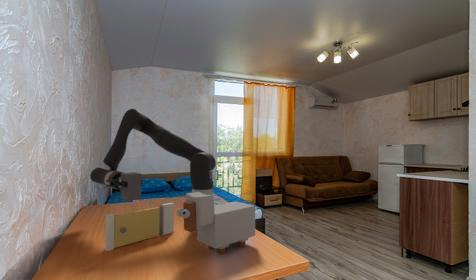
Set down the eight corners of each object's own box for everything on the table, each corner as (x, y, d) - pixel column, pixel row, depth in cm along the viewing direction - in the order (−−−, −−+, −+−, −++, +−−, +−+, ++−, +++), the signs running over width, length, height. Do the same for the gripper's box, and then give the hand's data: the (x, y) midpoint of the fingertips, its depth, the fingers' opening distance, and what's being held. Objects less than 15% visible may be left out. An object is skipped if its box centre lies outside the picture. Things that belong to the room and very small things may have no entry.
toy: (171, 257, 78) (171, 194, 78) (236, 237, 96) (235, 186, 97) (188, 270, 70) (188, 199, 70) (255, 244, 88) (255, 189, 89)
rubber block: (133, 196, 101) (133, 172, 101) (140, 199, 96) (141, 173, 96) (120, 198, 97) (121, 173, 97) (128, 201, 92) (128, 174, 92)
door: (157, 234, 98) (158, 207, 99) (161, 236, 96) (161, 208, 96) (113, 246, 86) (114, 215, 86) (117, 249, 84) (117, 216, 84)
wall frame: (171, 231, 103) (171, 202, 104) (173, 232, 102) (174, 203, 102) (105, 249, 84) (105, 214, 84) (107, 251, 83) (108, 215, 83)
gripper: (98, 172, 101) (115, 175, 90) (133, 170, 112) (151, 173, 100) (98, 190, 101) (114, 196, 89) (132, 186, 111) (151, 191, 100)
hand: (134, 184), depth 95 cm, fingers closed on rubber block, 5 cm apart
